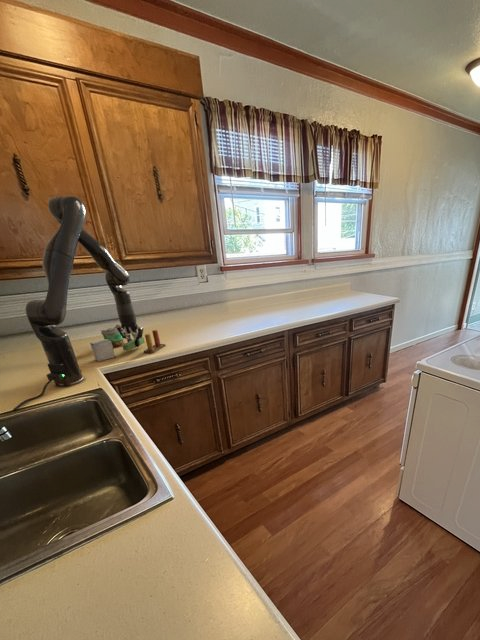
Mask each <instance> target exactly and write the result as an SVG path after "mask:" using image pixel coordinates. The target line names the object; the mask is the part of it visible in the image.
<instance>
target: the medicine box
mask: <svg viewBox="0 0 480 640" xmlns="http://www.w3.org/2000/svg"><path fill="white" fill-rule="evenodd" d="M90 347H91V350H92V354H93V356H94V359H95V360H96V361H97V362H102V361H106V360H110V359H113V358H116V354H115V351H114V348H113V347H112V343H111V341H110V340H108V339H104V338H103V339H100V340H96V341H92V342H90Z"/></svg>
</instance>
